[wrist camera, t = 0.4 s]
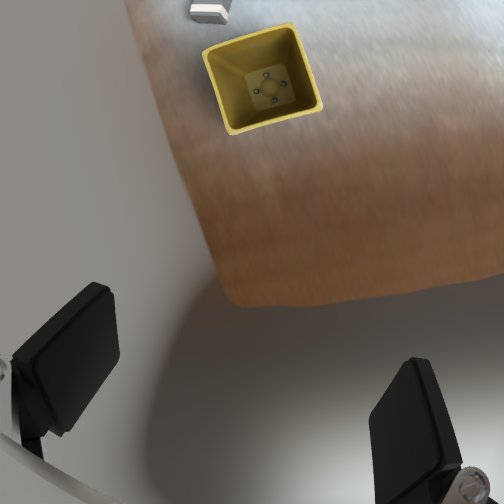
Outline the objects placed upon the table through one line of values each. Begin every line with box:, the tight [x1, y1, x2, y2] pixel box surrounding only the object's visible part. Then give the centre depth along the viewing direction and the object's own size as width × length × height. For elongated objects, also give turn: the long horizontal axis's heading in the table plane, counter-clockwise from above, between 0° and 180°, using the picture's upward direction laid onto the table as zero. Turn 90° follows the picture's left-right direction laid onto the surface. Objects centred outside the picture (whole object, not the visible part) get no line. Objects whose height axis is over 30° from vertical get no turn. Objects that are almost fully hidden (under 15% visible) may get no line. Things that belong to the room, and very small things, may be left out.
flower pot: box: [202, 23, 323, 135], centre depth 28 cm, size 9×9×9 cm
